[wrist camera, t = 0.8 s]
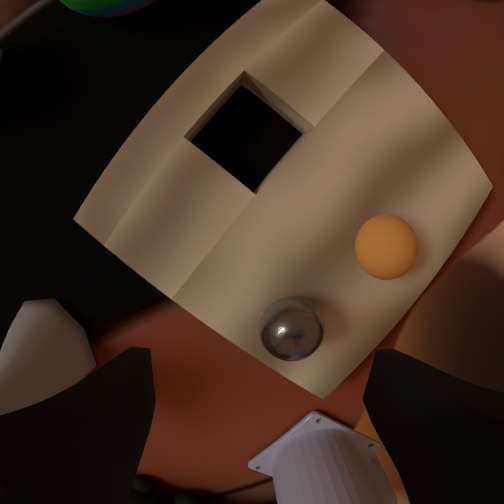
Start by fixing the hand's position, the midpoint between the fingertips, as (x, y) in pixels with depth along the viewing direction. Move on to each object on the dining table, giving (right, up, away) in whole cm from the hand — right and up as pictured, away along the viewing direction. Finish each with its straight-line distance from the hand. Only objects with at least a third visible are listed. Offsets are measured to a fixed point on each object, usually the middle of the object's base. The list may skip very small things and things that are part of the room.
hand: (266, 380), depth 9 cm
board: (+3, +8, +8) cm, 12 cm away
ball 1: (+2, 0, +6) cm, 6 cm away
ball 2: (+6, +4, +5) cm, 9 cm away
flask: (-15, -3, +10) cm, 18 cm away
